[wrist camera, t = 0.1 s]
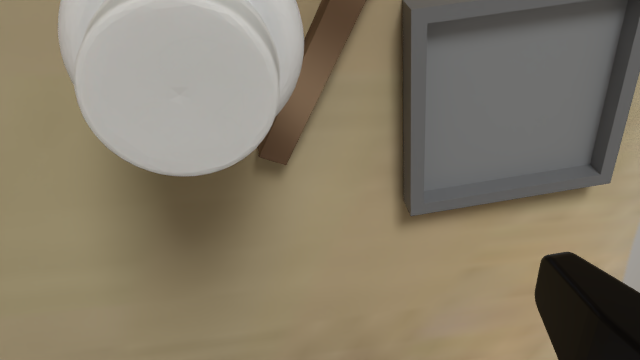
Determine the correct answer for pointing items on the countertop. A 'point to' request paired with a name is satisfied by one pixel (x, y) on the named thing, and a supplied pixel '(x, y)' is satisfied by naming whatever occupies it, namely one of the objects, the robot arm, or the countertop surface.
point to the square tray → (513, 97)
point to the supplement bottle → (181, 76)
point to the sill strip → (311, 75)
